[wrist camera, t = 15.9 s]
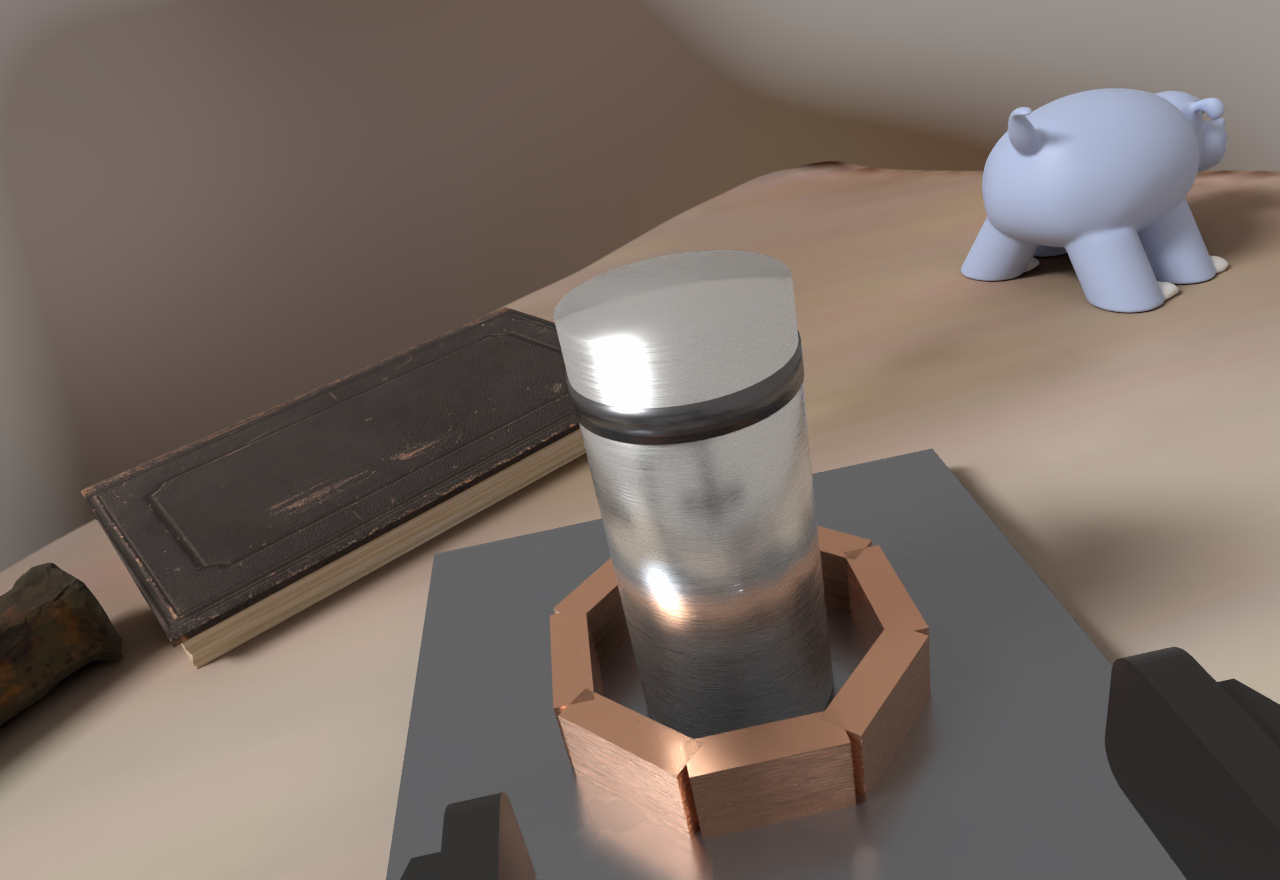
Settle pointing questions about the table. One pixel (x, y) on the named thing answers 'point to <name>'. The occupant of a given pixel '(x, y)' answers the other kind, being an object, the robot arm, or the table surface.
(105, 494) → the hardcover book
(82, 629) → the hand tool
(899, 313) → the table surface
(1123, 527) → the table surface
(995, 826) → the grey square base plate
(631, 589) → the steel piston
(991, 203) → the hippopotamus toy
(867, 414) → the table surface
